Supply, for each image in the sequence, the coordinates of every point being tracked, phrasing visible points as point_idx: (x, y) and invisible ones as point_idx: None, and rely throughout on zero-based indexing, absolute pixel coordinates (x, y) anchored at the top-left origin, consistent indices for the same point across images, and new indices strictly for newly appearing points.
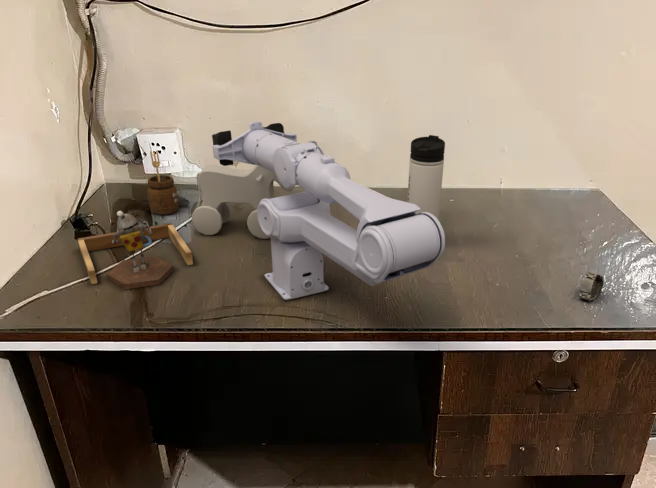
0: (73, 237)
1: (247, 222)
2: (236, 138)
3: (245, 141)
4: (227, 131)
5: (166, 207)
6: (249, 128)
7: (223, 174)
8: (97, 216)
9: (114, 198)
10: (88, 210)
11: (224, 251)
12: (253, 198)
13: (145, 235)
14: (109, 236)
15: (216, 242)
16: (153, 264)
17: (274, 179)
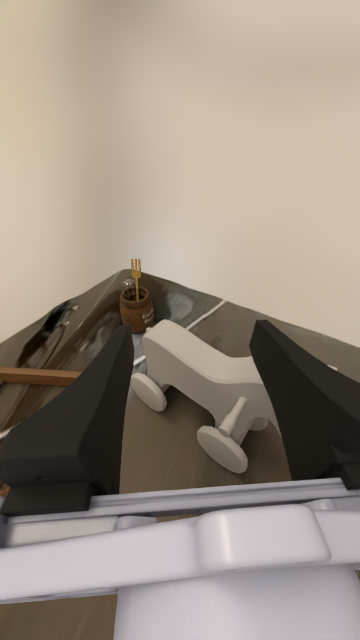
0: (25, 342)
1: (197, 434)
2: (60, 581)
3: (122, 629)
4: (52, 457)
5: (133, 327)
6: (193, 531)
7: (175, 357)
8: (77, 311)
9: (114, 287)
10: (80, 299)
11: (140, 478)
12: (217, 411)
13: (71, 382)
14: (25, 375)
15: (146, 435)
16: (8, 488)
17: (270, 420)
